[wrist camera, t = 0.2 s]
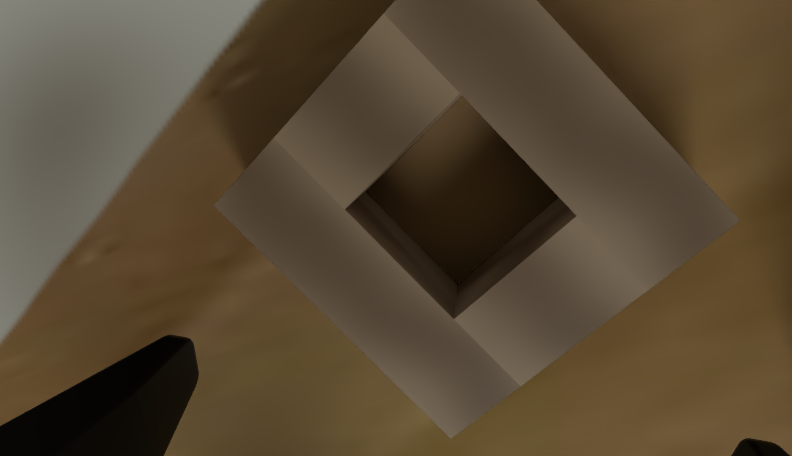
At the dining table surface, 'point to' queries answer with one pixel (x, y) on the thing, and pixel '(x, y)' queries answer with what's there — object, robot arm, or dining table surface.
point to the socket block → (520, 256)
